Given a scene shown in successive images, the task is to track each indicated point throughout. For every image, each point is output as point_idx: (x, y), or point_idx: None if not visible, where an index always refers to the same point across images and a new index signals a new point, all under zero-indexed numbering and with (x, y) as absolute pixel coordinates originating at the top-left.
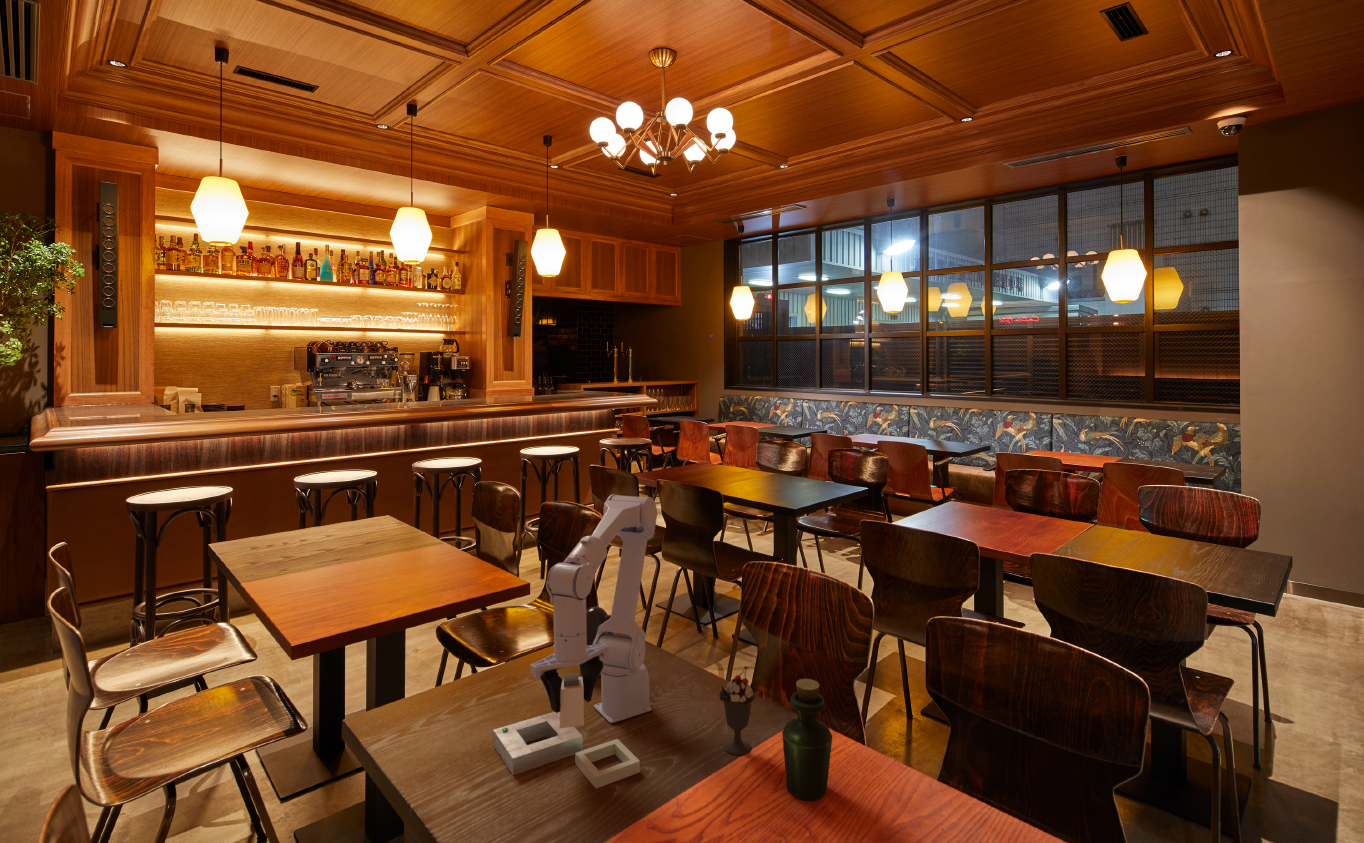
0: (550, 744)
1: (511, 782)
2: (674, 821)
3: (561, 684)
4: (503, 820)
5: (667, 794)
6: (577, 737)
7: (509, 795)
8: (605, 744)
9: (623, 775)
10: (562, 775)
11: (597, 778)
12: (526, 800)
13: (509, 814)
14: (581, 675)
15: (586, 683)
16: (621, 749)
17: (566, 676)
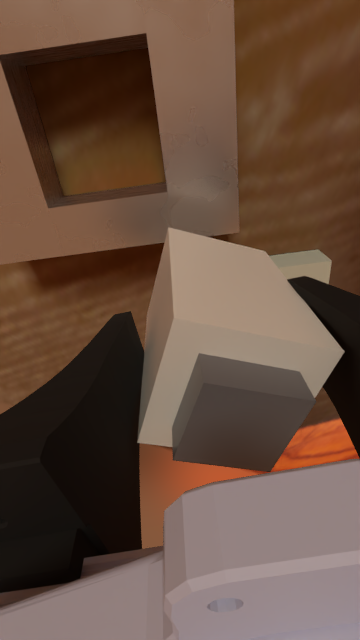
0: (126, 237)
1: (17, 273)
2: (277, 461)
3: (139, 521)
4: (8, 380)
5: (308, 417)
6: (221, 234)
7: (15, 318)
8: (286, 273)
9: None
10: (147, 297)
11: None
12: (54, 346)
13: (19, 370)
14: (352, 326)
15: None
16: None
17: (216, 412)
